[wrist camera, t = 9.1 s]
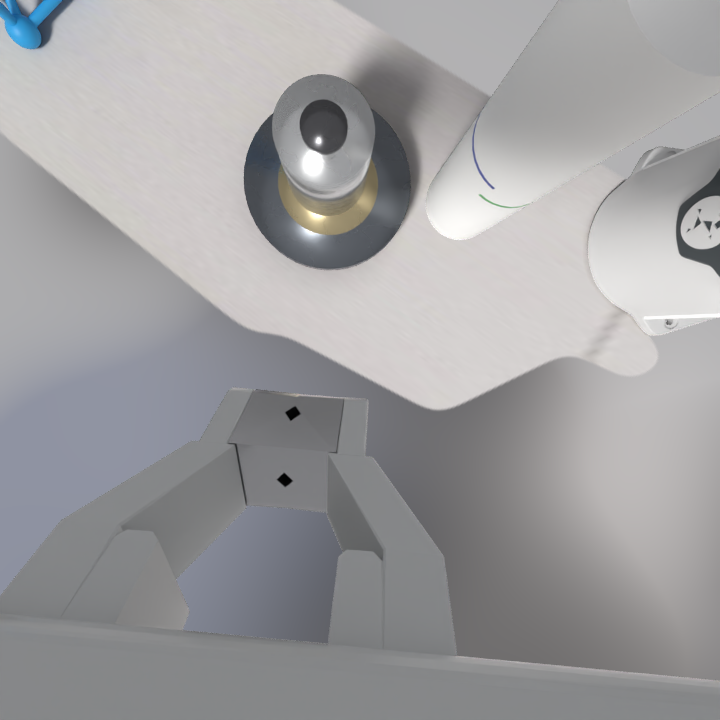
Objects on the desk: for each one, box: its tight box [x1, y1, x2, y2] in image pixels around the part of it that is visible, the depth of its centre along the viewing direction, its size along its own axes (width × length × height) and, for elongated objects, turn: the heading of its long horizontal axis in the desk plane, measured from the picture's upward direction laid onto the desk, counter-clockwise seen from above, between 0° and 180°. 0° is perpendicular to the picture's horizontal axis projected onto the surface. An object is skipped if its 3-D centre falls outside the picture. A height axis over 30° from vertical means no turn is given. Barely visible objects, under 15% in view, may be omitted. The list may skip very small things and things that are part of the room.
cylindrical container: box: [426, 0, 720, 240], centre depth 24 cm, size 7×7×25 cm
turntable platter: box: [244, 108, 411, 270], centre depth 33 cm, size 15×15×1 cm
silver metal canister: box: [272, 74, 375, 216], centre depth 28 cm, size 7×7×9 cm
